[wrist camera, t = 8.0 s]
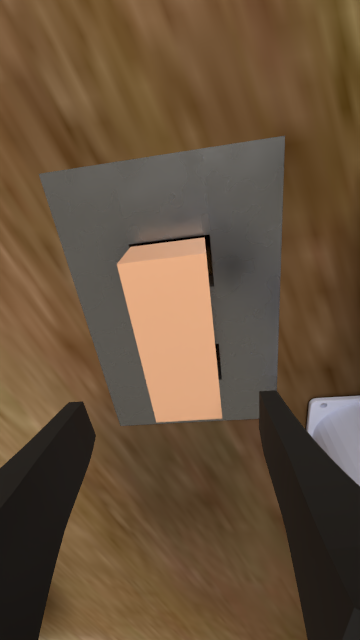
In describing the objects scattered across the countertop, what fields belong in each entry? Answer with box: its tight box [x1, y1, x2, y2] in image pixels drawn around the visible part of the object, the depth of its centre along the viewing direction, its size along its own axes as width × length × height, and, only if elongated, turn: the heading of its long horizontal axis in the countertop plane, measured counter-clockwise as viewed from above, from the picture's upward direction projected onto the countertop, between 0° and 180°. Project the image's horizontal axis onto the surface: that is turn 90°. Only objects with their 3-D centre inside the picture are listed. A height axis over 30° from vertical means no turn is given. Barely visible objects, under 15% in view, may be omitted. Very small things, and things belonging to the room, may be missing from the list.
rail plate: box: [39, 136, 285, 426], centre depth 19 cm, size 12×18×2 cm, turn 8°
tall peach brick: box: [117, 237, 222, 422], centre depth 17 cm, size 4×10×6 cm, turn 8°
